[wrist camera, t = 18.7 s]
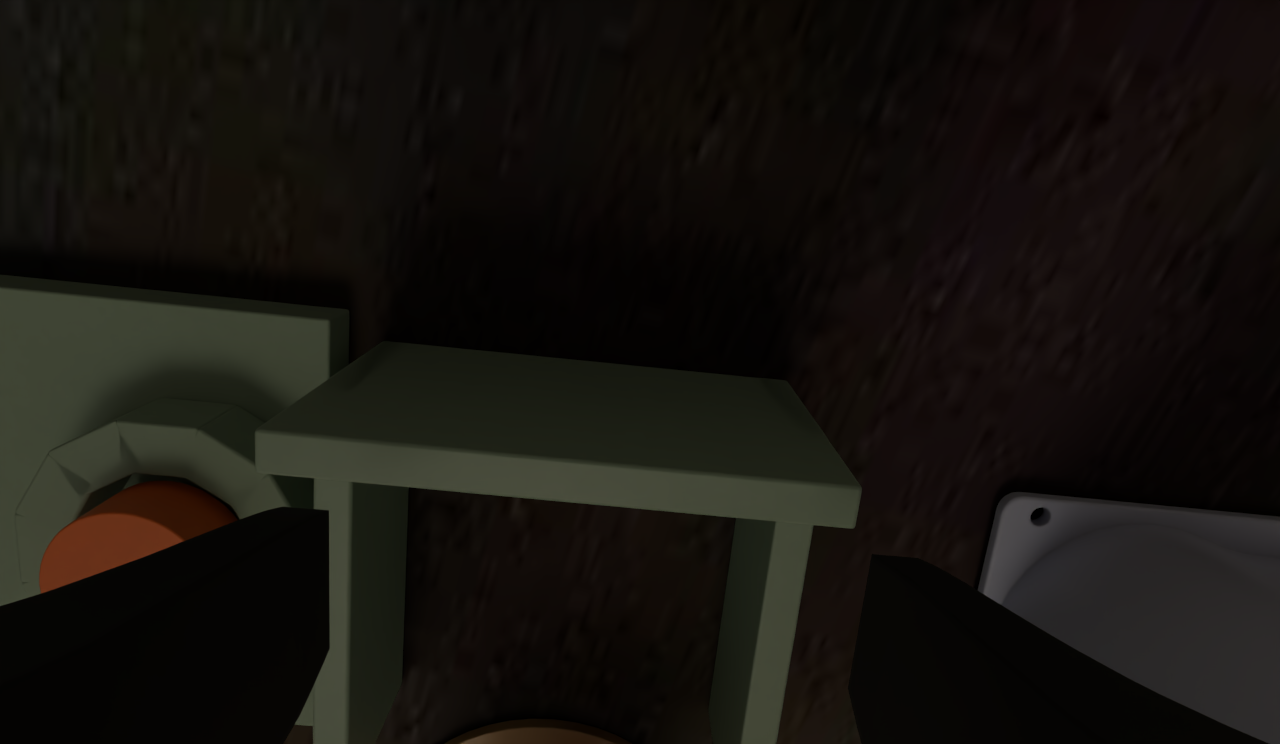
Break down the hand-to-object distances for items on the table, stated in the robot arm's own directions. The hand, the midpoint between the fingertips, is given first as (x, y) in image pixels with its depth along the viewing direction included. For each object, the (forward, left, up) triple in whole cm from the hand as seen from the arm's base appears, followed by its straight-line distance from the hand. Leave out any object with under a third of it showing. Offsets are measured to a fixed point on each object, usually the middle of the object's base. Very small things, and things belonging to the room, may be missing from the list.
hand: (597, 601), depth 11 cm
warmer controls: (+11, +4, -10) cm, 16 cm away
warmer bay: (+1, +5, -10) cm, 11 cm away
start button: (+10, +4, -7) cm, 13 cm away
